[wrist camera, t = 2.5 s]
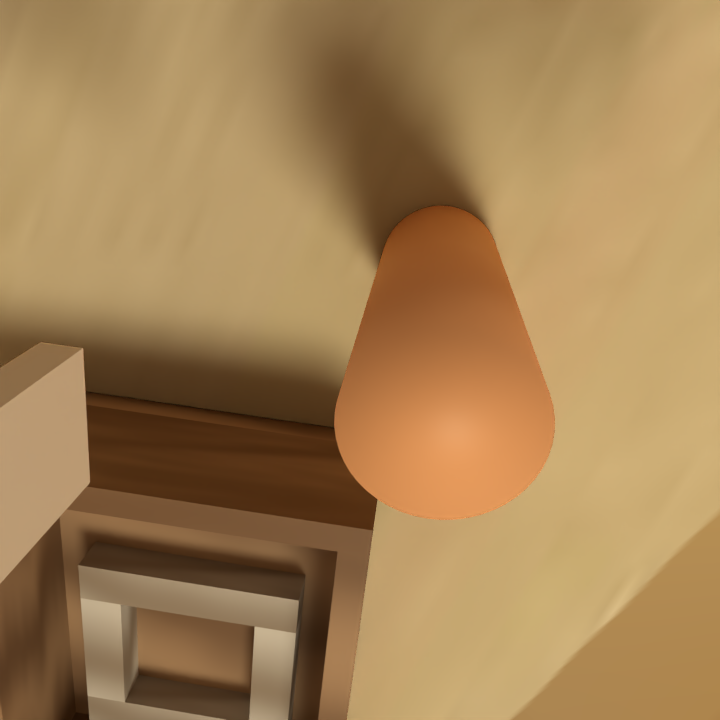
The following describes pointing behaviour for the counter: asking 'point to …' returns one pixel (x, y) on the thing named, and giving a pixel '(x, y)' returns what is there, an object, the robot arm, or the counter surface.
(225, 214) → the counter surface
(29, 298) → the counter surface
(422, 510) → the peg
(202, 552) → the crate
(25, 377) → the robot arm
